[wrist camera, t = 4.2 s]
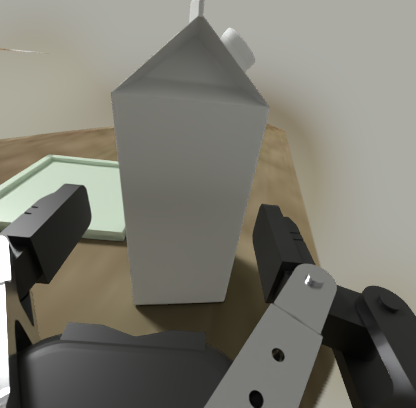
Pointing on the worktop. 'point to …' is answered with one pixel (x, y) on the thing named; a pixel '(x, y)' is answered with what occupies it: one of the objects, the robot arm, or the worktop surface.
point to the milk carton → (187, 162)
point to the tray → (71, 174)
